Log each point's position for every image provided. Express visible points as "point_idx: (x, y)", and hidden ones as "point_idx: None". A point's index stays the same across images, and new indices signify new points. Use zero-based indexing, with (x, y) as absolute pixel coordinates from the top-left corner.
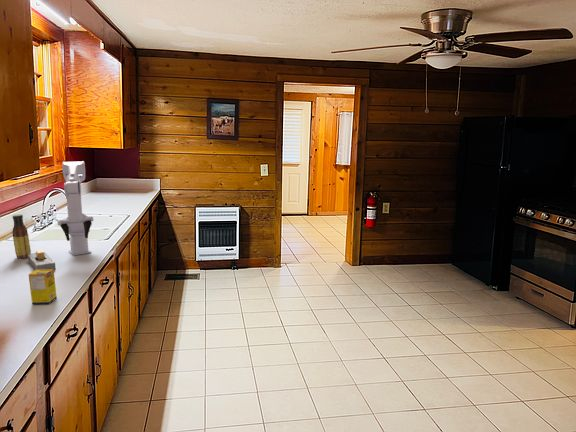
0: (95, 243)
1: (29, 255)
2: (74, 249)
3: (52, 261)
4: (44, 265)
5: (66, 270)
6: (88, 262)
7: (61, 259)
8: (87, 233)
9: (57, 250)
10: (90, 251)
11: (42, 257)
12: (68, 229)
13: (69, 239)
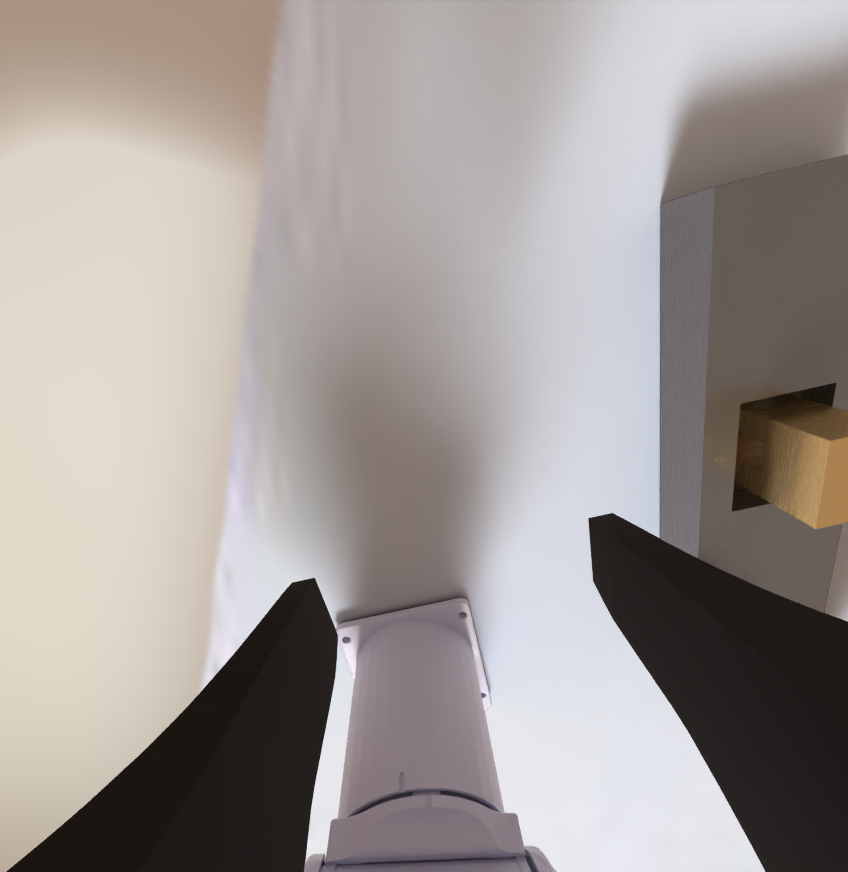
0: (318, 811)
1: (820, 581)
2: (461, 657)
3: (724, 261)
4: (820, 162)
5: (574, 101)
6: (352, 338)
7: (560, 530)
8: (255, 645)
9: (553, 741)
10: (341, 637)
11: (793, 416)
12: (817, 688)
13: (600, 524)
